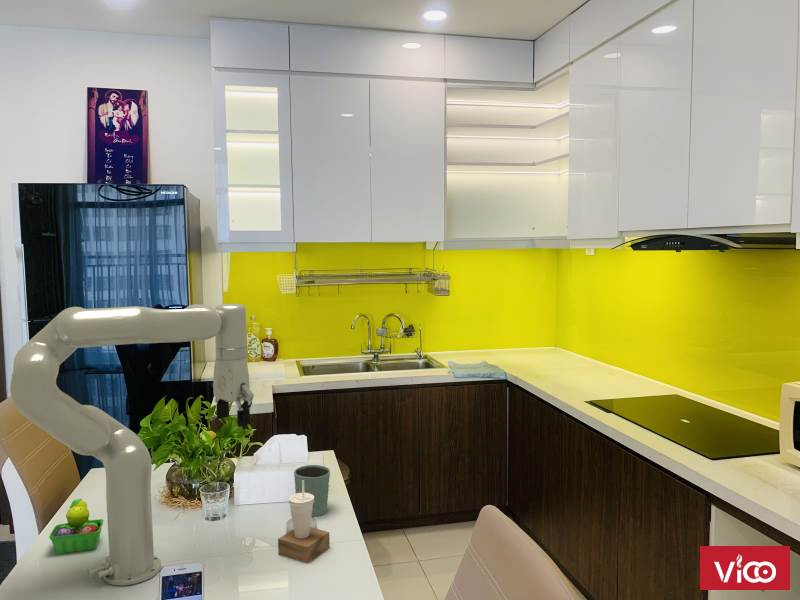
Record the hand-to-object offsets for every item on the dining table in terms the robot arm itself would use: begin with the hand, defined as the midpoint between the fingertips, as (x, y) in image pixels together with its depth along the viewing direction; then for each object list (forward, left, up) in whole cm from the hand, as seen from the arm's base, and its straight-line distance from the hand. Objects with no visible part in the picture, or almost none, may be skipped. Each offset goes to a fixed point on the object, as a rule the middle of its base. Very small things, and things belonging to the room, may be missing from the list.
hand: (233, 421), depth 159 cm
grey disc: (+16, -6, -32) cm, 36 cm away
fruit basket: (-28, +29, -33) cm, 52 cm away
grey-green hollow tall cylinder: (+26, +2, -32) cm, 42 cm away
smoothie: (+10, -14, -28) cm, 33 cm away
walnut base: (+10, -15, -32) cm, 37 cm away
